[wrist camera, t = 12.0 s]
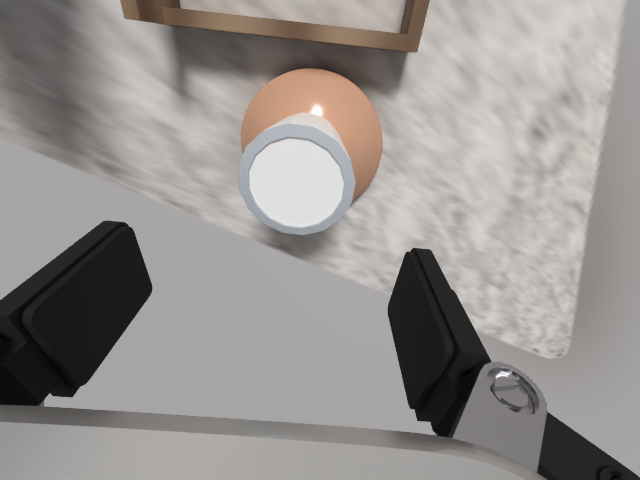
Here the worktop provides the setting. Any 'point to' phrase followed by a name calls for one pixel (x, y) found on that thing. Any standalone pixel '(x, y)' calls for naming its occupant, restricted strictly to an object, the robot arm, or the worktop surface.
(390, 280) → the worktop surface
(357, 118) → the tan flat disc
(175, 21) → the frame
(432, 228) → the worktop surface
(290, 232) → the white cup
